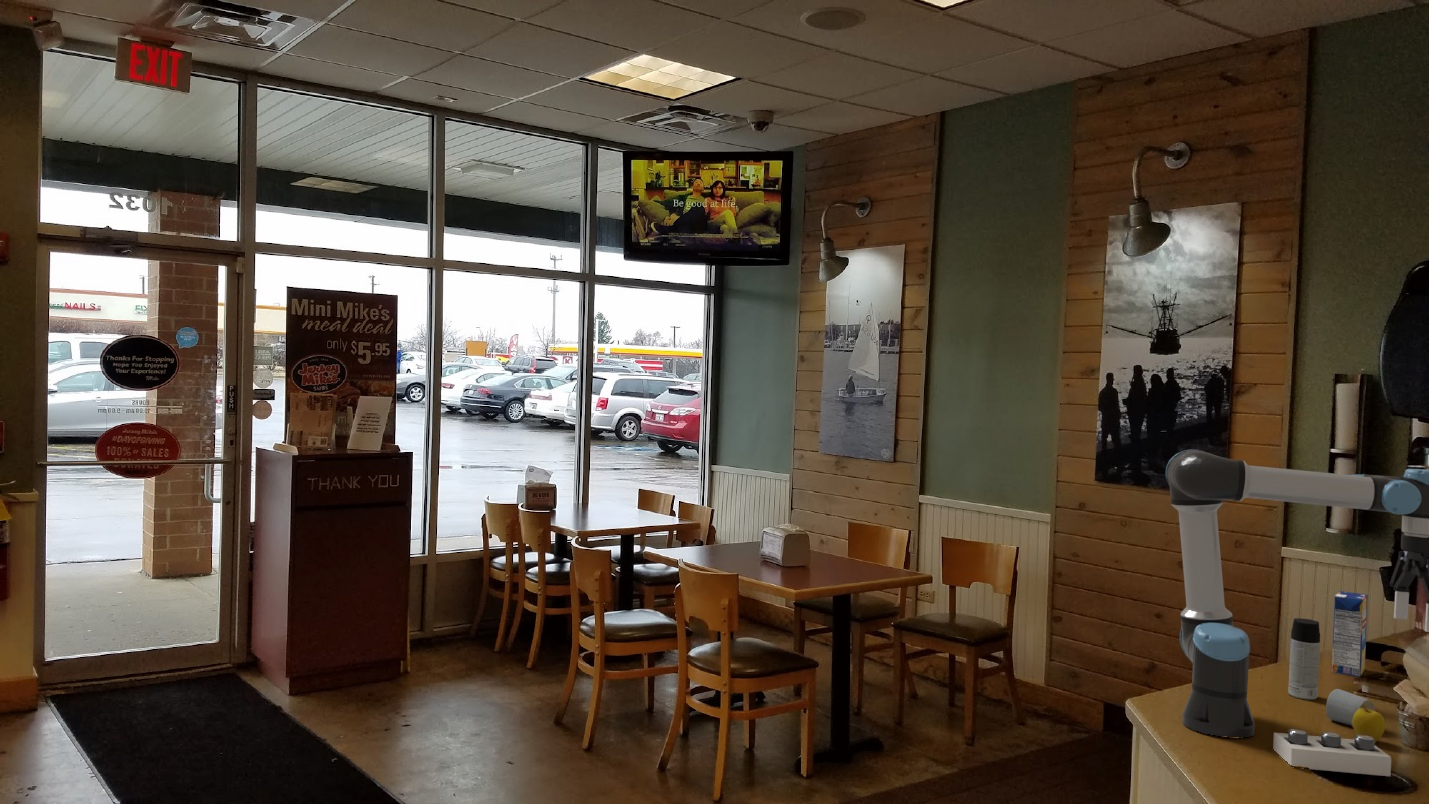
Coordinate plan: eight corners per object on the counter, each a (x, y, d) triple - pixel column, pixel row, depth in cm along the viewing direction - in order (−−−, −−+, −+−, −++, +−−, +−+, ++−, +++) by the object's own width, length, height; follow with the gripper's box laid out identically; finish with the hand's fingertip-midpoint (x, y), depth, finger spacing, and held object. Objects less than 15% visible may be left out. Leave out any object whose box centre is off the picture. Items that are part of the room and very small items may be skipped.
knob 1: (1291, 752, 212) (1292, 732, 212) (1285, 746, 216) (1285, 727, 216) (1309, 753, 211) (1310, 734, 211) (1303, 747, 215) (1303, 728, 215)
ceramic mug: (1360, 732, 234) (1362, 699, 233) (1324, 721, 241) (1326, 690, 241) (1383, 726, 239) (1385, 694, 239) (1347, 716, 246) (1349, 685, 246)
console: (1291, 767, 209) (1291, 748, 209) (1273, 750, 219) (1273, 732, 219) (1390, 776, 206) (1391, 757, 206) (1367, 759, 216) (1368, 740, 216)
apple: (1348, 734, 232) (1349, 700, 231) (1380, 739, 229) (1382, 704, 229) (1354, 743, 226) (1355, 708, 226) (1387, 748, 223) (1389, 712, 223)
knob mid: (1324, 755, 211) (1325, 735, 211) (1317, 749, 214) (1318, 730, 214) (1343, 756, 210) (1344, 737, 210) (1336, 750, 214) (1336, 731, 214)
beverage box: (1331, 672, 286) (1334, 596, 286) (1337, 664, 295) (1340, 591, 294) (1359, 677, 282) (1362, 600, 282) (1364, 669, 290) (1367, 594, 290)
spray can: (1318, 695, 262) (1321, 620, 262) (1317, 702, 256) (1320, 625, 256) (1288, 691, 266) (1291, 616, 265) (1287, 697, 260) (1290, 621, 260)
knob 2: (1358, 758, 210) (1359, 738, 210) (1350, 752, 213) (1351, 733, 213) (1377, 759, 209) (1378, 740, 209) (1369, 753, 213) (1370, 734, 213)
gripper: (1470, 544, 220) (1465, 639, 220) (1409, 529, 245) (1405, 614, 245) (1433, 541, 221) (1427, 636, 222) (1376, 527, 246) (1372, 612, 246)
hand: (1415, 625), depth 233 cm, fingers open, 13 cm apart
